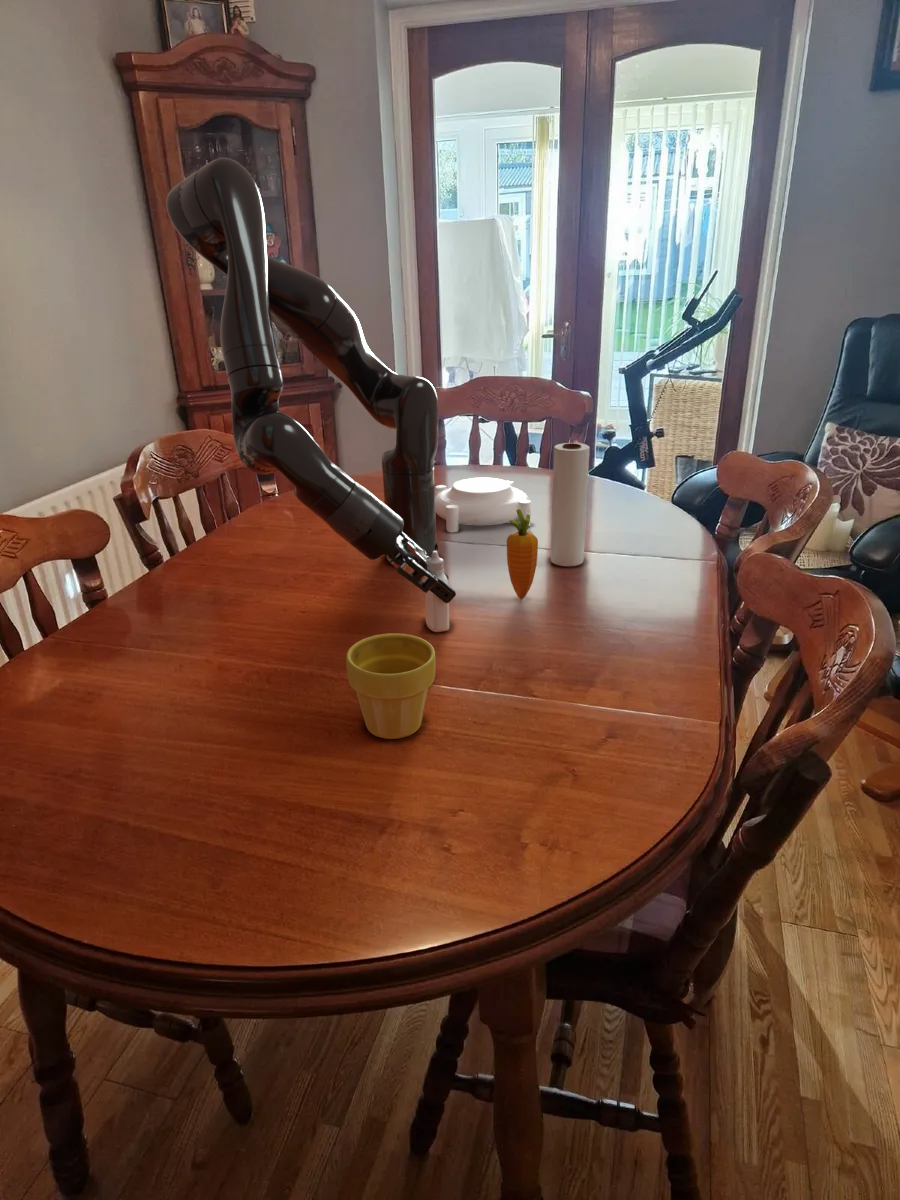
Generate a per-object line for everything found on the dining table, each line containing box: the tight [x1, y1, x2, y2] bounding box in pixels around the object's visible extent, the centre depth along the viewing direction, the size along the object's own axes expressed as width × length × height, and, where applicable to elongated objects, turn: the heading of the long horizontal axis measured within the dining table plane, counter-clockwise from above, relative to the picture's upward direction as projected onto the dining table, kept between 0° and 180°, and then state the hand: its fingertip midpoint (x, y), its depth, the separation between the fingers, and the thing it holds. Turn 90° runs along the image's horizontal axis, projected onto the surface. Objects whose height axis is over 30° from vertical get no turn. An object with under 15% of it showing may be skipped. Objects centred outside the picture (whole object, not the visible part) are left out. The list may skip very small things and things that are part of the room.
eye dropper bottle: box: [423, 550, 450, 633], centre depth 113 cm, size 4×6×12 cm
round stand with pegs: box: [435, 476, 532, 533], centre depth 162 cm, size 24×24×7 cm
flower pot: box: [345, 633, 437, 740], centre depth 89 cm, size 10×10×10 cm
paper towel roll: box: [550, 439, 591, 567], centre depth 134 cm, size 7×6×21 cm
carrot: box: [506, 509, 539, 601], centre depth 120 cm, size 5×5×15 cm
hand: (447, 589), depth 113 cm, fingers closed on eye dropper bottle, 5 cm apart
